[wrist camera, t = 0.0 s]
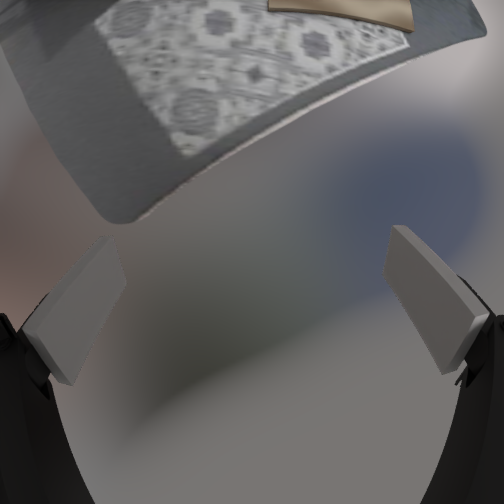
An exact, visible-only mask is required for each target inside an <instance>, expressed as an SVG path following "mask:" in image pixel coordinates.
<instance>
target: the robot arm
mask: <svg viewBox="0 0 504 504" xmlns="http://www.w3.org/2000/svg"><path fill="white" fill-rule="evenodd" d="M382 275H383V277H384V278H385V280H386V281H387V283H388V284H389V286H390V287H391V289H392V290H393V292H394V293H395V295H396V297H397V298H398V300H399V301H400V303H401V304H402V306H403V307H404V309H405V311H406V312H407V314H408V316H409V317H410V319H411V321H412V322H413V324H414V326H415V327H416V329H417V331H418V332H419V334H420V336H421V337H422V339H423V341H424V343H425V344H426V346H427V348H428V350H429V351H430V353H431V355H432V357H433V359H434V361H435V363H436V364H437V366H438V368H439V370H440V372H441V374H442V375H443V374H447V373H449V372H453V371H455V370H457V369H458V367H459V366H460V364H461V362H462V361H463V360H465V361H466V363H467V366H466V368H465V369H464V371H463V372H462V373H461V375H460V376H459V378H458V379H457V381H456V383H455V385H457V384H458V383H459V381H461V380H462V383H461V385H460V387H461V388H460V393H459V397H458V401H457V405H456V409H455V414H454V417H453V421H452V425H451V428H450V431H449V434H448V437H447V440H446V443H445V446H444V449H443V452H442V455H441V458H440V460H439V463H438V465H437V468H436V470H435V473H434V475H433V478H432V480H431V482H430V484H429V486H428V489H427V491H426V493H425V495H424V497H423V499H422V501H421V503H420V504H504V315H498V316H497V317H496V315H495V314H494V313H493V312H492V310H491V309H490V308H489V307H488V306H487V305H486V303H485V302H484V301H483V300H482V299H481V298H480V296H477V293H476V292H475V291H474V290H473V289H472V287H471V286H470V285H469V284H468V283H467V282H466V281H465V280H464V279H462V278H461V277H459V276H458V275H456V274H455V273H454V272H453V271H452V270H451V269H450V268H449V267H448V266H447V265H446V264H445V263H444V262H443V261H442V260H441V259H440V258H439V257H438V256H437V255H436V254H435V253H434V252H433V251H432V250H431V249H430V248H429V247H428V246H427V245H426V244H425V243H424V242H423V241H422V240H421V239H420V238H419V237H418V236H416V235H415V234H414V233H413V232H412V231H411V230H410V229H409V228H408V227H407V226H405V225H392V229H391V235H390V240H389V245H388V251H387V255H386V260H385V265H384V269H383V273H382ZM126 285H127V282H126V279H125V275H124V272H123V269H122V265H121V262H120V258H119V255H118V251H117V248H116V244H115V240H114V236H102V237H100V238H99V239H98V240H97V241H96V242H95V243H94V244H93V245H92V246H91V247H90V248H89V249H88V250H87V251H86V252H85V253H84V254H83V255H82V256H81V257H80V258H79V260H78V261H77V262H76V263H75V264H74V265H73V266H72V267H71V268H70V269H69V271H68V272H67V273H66V274H65V275H64V276H63V277H62V278H61V280H60V281H59V282H58V283H57V284H56V286H55V287H54V288H53V289H52V290H51V291H50V292H49V293H48V294H47V295H46V296H45V297H44V298H43V299H42V300H41V302H40V303H39V305H37V306H36V308H35V309H34V311H33V312H32V313H31V314H30V315H29V317H28V318H27V319H26V321H25V322H24V323H23V325H22V326H21V328H20V329H19V330H18V332H17V333H16V331H15V329H14V328H13V326H12V324H11V323H10V321H9V319H8V317H7V316H6V315H5V314H4V313H0V504H95V503H94V501H93V499H92V497H91V495H90V493H89V491H88V489H87V487H86V485H85V482H84V480H83V478H82V476H81V474H80V471H79V469H78V467H77V465H76V462H75V459H74V457H73V454H72V451H71V449H70V446H69V443H68V440H67V437H66V434H65V432H64V428H63V425H62V422H61V419H60V415H59V412H58V408H57V404H56V400H55V396H54V392H53V388H52V384H51V382H50V380H49V379H48V377H49V375H50V373H52V375H53V376H54V377H55V378H56V380H57V381H58V382H59V383H63V384H66V385H70V386H73V384H74V383H75V380H76V378H77V376H78V374H79V372H80V370H81V368H82V366H83V364H84V362H85V360H86V358H87V356H88V354H89V351H90V350H91V348H92V346H93V344H94V342H95V340H96V338H97V336H98V334H99V332H100V331H101V329H102V327H103V325H104V323H105V321H106V320H107V318H108V316H109V314H110V312H111V311H112V309H113V307H114V305H115V304H116V302H117V300H118V299H119V297H120V295H121V293H122V292H123V290H124V288H125V287H126Z"/></svg>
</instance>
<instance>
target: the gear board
mask: <svg viewBox="0 0 504 504" xmlns="http://www.w3.org/2000/svg"><path fill="white" fill-rule="evenodd" d="M268 11H287V12H303V13H315V14H324V15H331V16H338V17H345V18H350V19H356V20H361V21H366V22H370V23H375V24H379V25H383V26H387V27H391V28H394V29H398V30H401V31H405V32H408V33H412V32H414V24H413V17H412V11H411V5H410V0H268Z"/></svg>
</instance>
